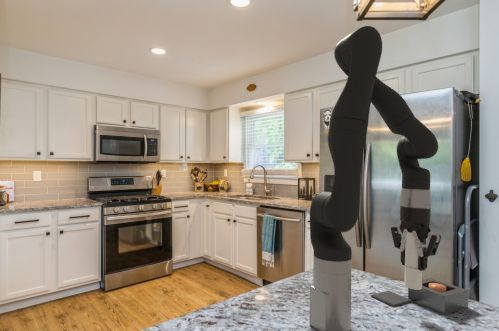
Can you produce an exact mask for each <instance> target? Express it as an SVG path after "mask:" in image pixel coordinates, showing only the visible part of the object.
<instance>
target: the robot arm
mask: <svg viewBox="0 0 499 331" xmlns="http://www.w3.org/2000/svg"><path fill="white" fill-rule="evenodd" d="M382 52H383V40H382V36H381V33H380V32H379V31H378V30H377V28H376V27H374V26H371V25H364V26H361V27H359V28H357V29H356V30H354V31H353V32H351V33H350V34H347V35H346V36H345V37H344V38H342V39H341V40H339V41H338V43H337V44H336V45H335V47H334V52H333V53H334V59H335V62H336V64H337V65H338V67H339V68H340V69H341V70H342V72H343V73H344V74H345V76H347V79H346V82H345V84H344V86H343V89H342V91H341V93H340V95H339V97H338V99H337V101H336V102H335V104H334V106H333V109H332V112H331V115H330V118H329V119H330V120H329V125H328V133H327V134H328V135H327V145H328V148H329V153H330V156H331V159H332V163H333V169H334V170H333V171H334V172H333V173H334V174H333V181H332V182H333V183H332V187H331V191H322V192H319V193H317V194H316V195H314V197H313V198H312V200H311V203H310V208H309V232H310V233H309V234H310V238H309V239H310V243H311V247H312V250H313V260H312V261H313V266H312V267H313V270H312V275H313V276H312V285H310V287H309V325H310V326H312V327H313V328H314V329H316V330H317V331H351V329H352V264H353V263H352V259H353V258H352V257H353V256H352V254H353V253H352V247H351V246H350V244H349V243H348V242H347V241H346V240H345V237H343V236H344V235H343V234H342V233H347V232H349V231H350V230H352V229H353V228H354V227H355V226H356V224H357V222H358V219H359V215H360V208H361V206H360V204H361V185H362V184H361V180H362V179H361V178H362V169H363V162H364V161H363V160H364V153H365V144H366V140H367V133H368V128H369V127H368V126H369V116H370V108H371V105H373V107H374V108H375V110H376V111H377V113H378V114H379V115H380V117H381V119H382V121H383V122H384V123H385V125H386V126H387V128H388V130H390V132H391V133H392V134H394V135H398V136H401V137H400V138H399V140H398V142H397V143H396V144H397V145H396V156H397V160H398V164H399V168H400V171H401V192H400V196H399V197H400V198H399V221H400V224H399V226H391V227H390V233H391V236H392V240H393V245H394V248H396V249H398V250H399V251H400V263H401V265H402V266H404V267H405V242H406V235H407V232H412V235H413V237H414V240H415V245H416V247H417V248H418V252H419V256H418V270H420V271H422V272H423V271H426V269H427V268H428V258H429V257H431V256H432V257H433V256H436V254H437V251H438V248H439V246H440V242H441V240H442V235H440V234H436V233H434V232H433V231H432V230H431V228H430V225H431V215H432V214H431V212H432V210H431V209H432V196H431V172H430V170H429V169H427V168H425V167H421V166H420V162H419V160H427V159H431V158H433V157H434V156H435V155H436V154H437V153H438V151H439V150H438V149H439V142H438V139H437V137H436V136H435V134H434V133H433V132H432V130H430V129H429V128H428V127H427V126H426V125H425V124H424V123H423V122H422V121H421V120H419V119H418V118H417V117H416V116H415V115H414V113H413V111H412V110H411V108H410V106H409V104H408V102H406V100H405V99H404V98H403V97H402V95H401V94H400V93H399V92H397V91H396V90H395V89H393V87H390V86H389V85H387V84H386V83H384V82H383V81H381V79H380V78H379V77H378V76H377V73H378V70H379V65H380V61H381V58H382ZM427 239H428V240H427ZM428 241H429V242H428ZM421 243H423V244H421Z"/></svg>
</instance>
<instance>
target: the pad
mask: <svg viewBox="0 0 499 331" xmlns="http://www.w3.org/2000/svg"><path fill="white" fill-rule="evenodd" d="M370 297H371V298H373V299H375V300H378V301H380V302H382V303H384V304H386V305H389V306H391V307H392V308H394V307H397V306H402V305H406V304H409V303H412V300H411V299H408V297H405V296H403V295H402V294H401V295H400V294H398V293H397V292H393V291H391V290H386V291H382V292H381V291H380V292H377V293H373V294H372V293H371V294H370Z"/></svg>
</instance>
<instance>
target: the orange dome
mask: <svg viewBox="0 0 499 331" xmlns="http://www.w3.org/2000/svg"><path fill="white" fill-rule="evenodd" d="M429 288H430V289H433V290H436V291H439V292H442V293H443V292H446V286H445V285H442V284H438V283H429Z"/></svg>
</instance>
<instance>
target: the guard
mask: <svg viewBox="0 0 499 331" xmlns="http://www.w3.org/2000/svg"><path fill="white" fill-rule="evenodd" d="M429 283H438V284H442V285H445V286H446V292H443V293H442V292H439V291H436V290H433V289H430V288H429ZM407 295H408V296H407V298H408V299H411V300H412V302H413V303H415V304H417V305H419V306H422V307H425V308H427V309H430V310H432V311H435V312H437V313H440V314H441V315H444V316H446V315H450V314H451V313H454V312H459V311H461V310H464V309H467V308H469V290H468V289H466V288H463V287H460V286H456V285H453V284H451V283H447V282H444V281H441V280H439V279H435V278H431V277H429V278H426V279H422V289H421V290H414V289H410V288H407ZM412 302H411V303H412Z"/></svg>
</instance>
